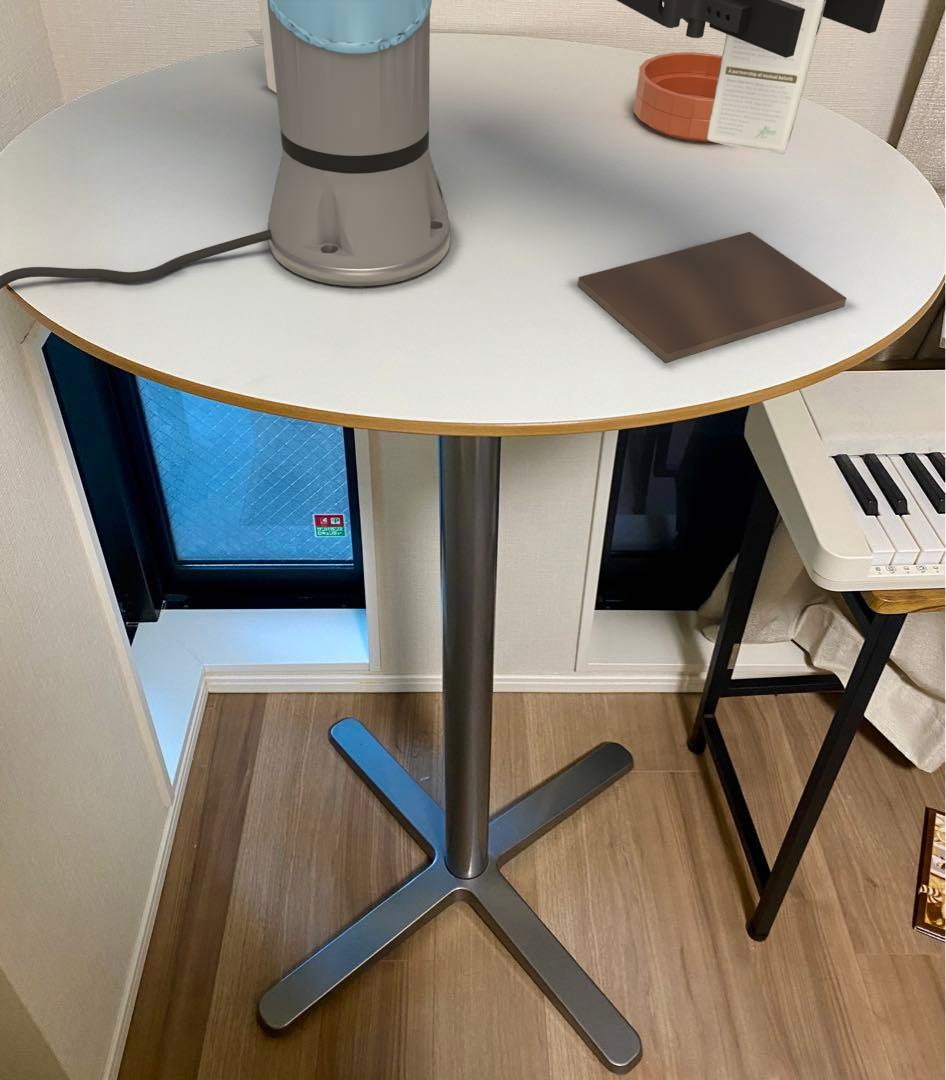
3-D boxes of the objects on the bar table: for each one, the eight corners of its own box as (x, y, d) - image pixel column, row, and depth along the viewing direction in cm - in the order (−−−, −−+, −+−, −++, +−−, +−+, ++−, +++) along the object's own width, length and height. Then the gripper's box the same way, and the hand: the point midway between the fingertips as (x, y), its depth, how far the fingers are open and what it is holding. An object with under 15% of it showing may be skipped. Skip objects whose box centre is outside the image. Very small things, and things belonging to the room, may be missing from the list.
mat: (665, 363, 74) (667, 353, 73) (577, 285, 81) (578, 276, 80) (844, 306, 80) (847, 297, 80) (747, 239, 87) (749, 231, 87)
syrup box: (786, 156, 69) (850, -82, 59) (702, 142, 70) (751, -95, 60) (793, 125, 73) (854, -104, 63) (713, 112, 74) (761, -115, 64)
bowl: (683, 154, 99) (691, 109, 96) (608, 106, 107) (614, 62, 104) (783, 132, 104) (794, 88, 101) (704, 87, 112) (713, 45, 109)
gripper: (681, -33, 83) (913, 53, 70) (487, 9, 73) (715, 116, 61) (699, -140, 77) (954, -68, 65) (492, -109, 68) (743, -19, 56)
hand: (838, 21), depth 63 cm, fingers closed on syrup box, 8 cm apart
